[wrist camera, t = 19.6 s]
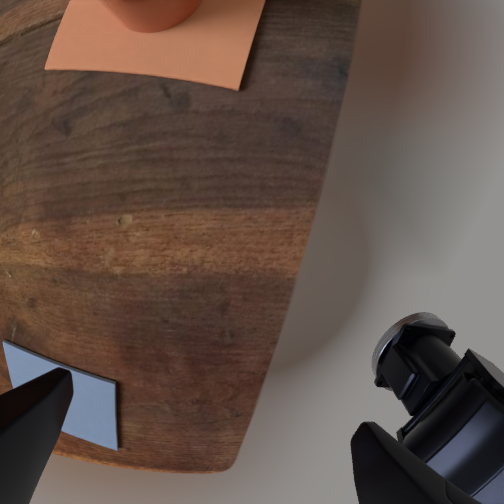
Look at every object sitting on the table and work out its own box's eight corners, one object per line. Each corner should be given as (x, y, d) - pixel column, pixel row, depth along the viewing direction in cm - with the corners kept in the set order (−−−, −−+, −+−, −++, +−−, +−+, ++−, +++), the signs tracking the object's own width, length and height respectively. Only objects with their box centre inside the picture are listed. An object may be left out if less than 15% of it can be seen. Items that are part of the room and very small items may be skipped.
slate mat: (116, 381, 23) (114, 384, 23) (118, 447, 26) (117, 450, 25) (4, 339, 22) (2, 341, 21) (21, 410, 24) (20, 412, 24)
